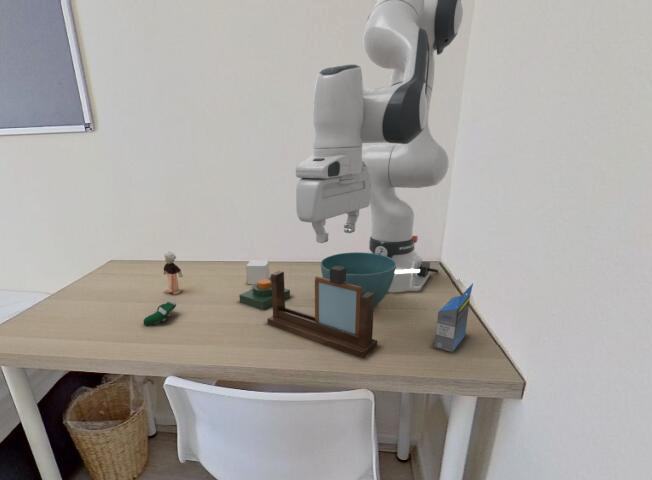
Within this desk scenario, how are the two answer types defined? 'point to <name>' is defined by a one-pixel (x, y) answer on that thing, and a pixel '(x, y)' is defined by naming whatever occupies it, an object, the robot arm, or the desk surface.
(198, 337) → the desk surface
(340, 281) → the window pane
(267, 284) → the latch button
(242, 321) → the desk surface
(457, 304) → the blue cardboard box
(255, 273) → the white cube
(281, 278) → the window frame
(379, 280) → the teal bowl
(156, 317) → the green shoe
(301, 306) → the desk surface
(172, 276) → the grandmother figurine
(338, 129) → the robot arm
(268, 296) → the green push button base
